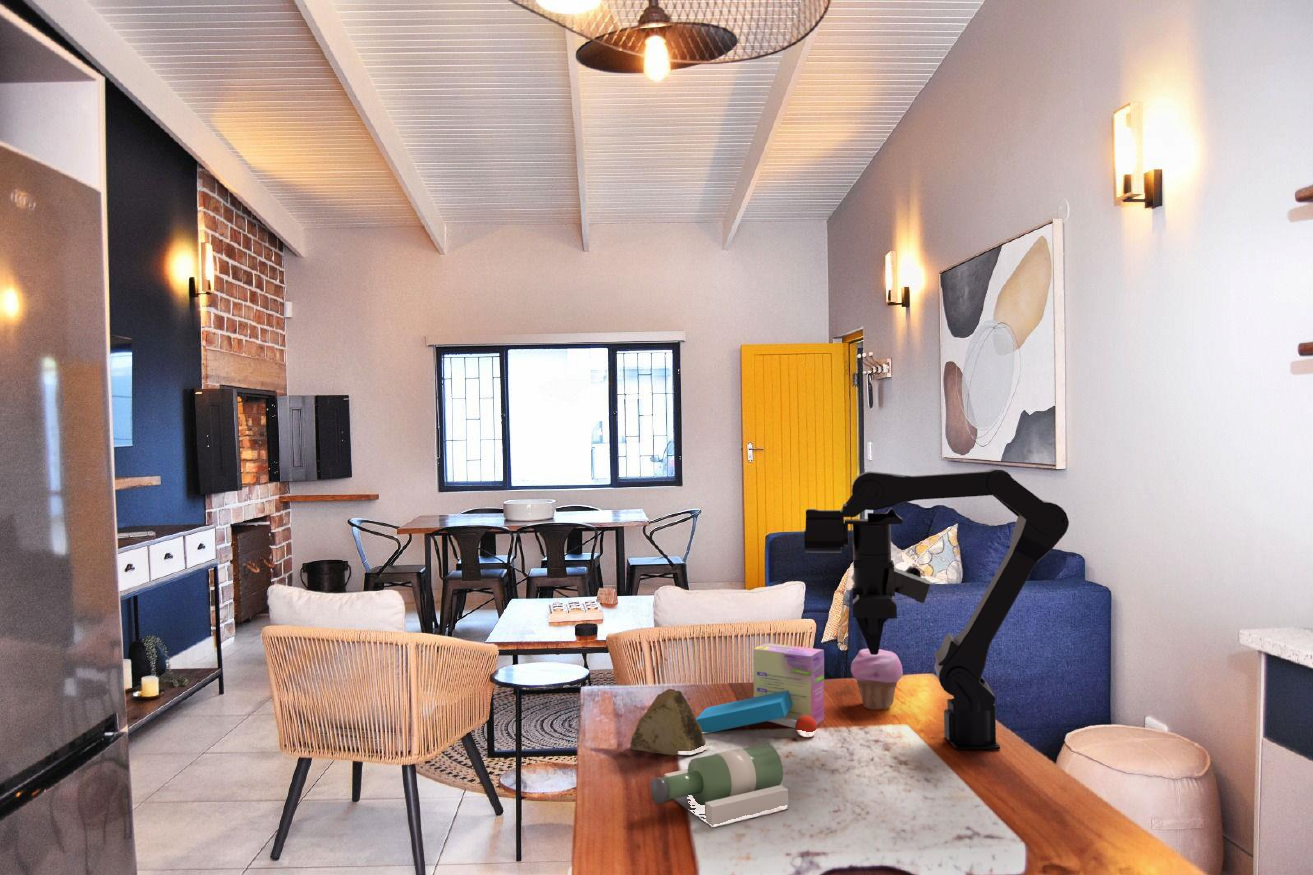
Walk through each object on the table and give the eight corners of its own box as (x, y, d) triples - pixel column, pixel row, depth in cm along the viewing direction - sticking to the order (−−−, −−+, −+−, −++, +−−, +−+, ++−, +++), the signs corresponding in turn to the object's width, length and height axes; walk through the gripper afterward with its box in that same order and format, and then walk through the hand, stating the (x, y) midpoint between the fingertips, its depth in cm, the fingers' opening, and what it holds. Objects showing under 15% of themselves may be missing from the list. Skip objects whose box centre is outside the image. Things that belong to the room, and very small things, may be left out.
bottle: (765, 733, 117) (651, 756, 110) (788, 767, 113) (671, 793, 105) (754, 764, 120) (641, 788, 112) (775, 798, 115) (660, 826, 108)
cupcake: (849, 698, 157) (848, 642, 157) (899, 699, 156) (898, 643, 156) (853, 713, 148) (852, 654, 149) (906, 715, 147) (905, 655, 147)
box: (825, 720, 145) (824, 648, 146) (812, 730, 141) (810, 655, 141) (768, 710, 151) (766, 641, 151) (753, 719, 146) (752, 648, 146)
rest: (735, 777, 121) (735, 759, 121) (788, 809, 110) (787, 789, 110) (664, 793, 116) (664, 773, 116) (712, 828, 105) (712, 807, 105)
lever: (707, 763, 140) (816, 742, 134) (695, 719, 140) (803, 697, 135) (718, 749, 146) (823, 728, 140) (706, 707, 147) (810, 685, 141)
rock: (610, 738, 131) (657, 743, 124) (630, 684, 136) (677, 687, 129) (656, 767, 137) (703, 774, 130) (673, 714, 141) (720, 718, 134)
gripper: (931, 561, 125) (934, 671, 125) (921, 546, 144) (923, 642, 143) (851, 560, 128) (854, 668, 128) (851, 546, 146) (853, 640, 146)
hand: (874, 654), depth 136 cm, fingers closed
